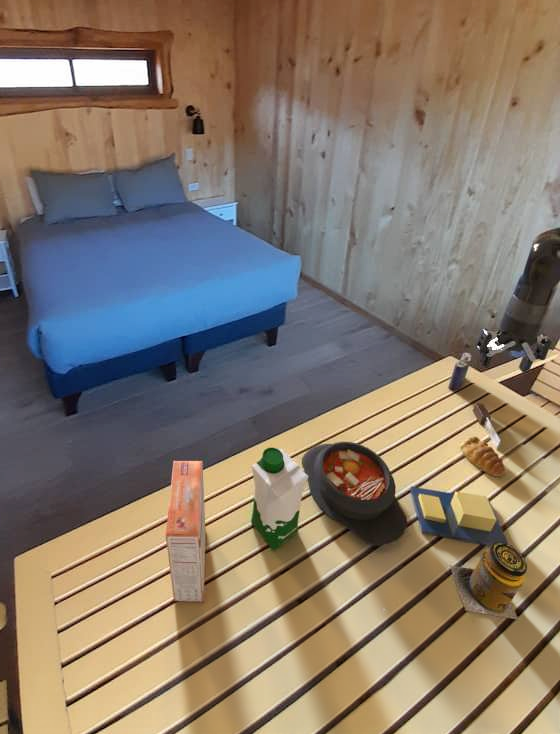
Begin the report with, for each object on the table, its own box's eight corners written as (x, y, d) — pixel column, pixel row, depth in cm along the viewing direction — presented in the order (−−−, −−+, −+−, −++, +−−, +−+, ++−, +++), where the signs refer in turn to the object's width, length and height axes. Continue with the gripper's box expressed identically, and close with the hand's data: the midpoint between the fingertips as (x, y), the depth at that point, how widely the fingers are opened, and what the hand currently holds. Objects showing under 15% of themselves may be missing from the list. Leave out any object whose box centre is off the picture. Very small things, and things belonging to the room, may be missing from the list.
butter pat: (439, 497, 88) (419, 493, 88) (446, 519, 83) (425, 515, 84) (437, 500, 88) (418, 496, 89) (444, 523, 84) (424, 518, 85)
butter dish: (487, 502, 89) (494, 487, 86) (508, 549, 80) (516, 534, 78) (409, 489, 92) (414, 474, 90) (421, 533, 83) (427, 518, 81)
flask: (456, 373, 126) (466, 346, 121) (467, 378, 124) (477, 350, 119) (446, 388, 120) (455, 360, 115) (456, 393, 118) (467, 365, 113)
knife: (472, 410, 112) (475, 402, 111) (480, 411, 112) (483, 403, 110) (492, 449, 101) (496, 440, 100) (501, 450, 100) (505, 441, 99)
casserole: (426, 525, 85) (435, 500, 81) (360, 569, 77) (368, 543, 74) (341, 438, 105) (345, 415, 101) (282, 466, 98) (285, 442, 94)
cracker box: (178, 525, 86) (172, 458, 76) (206, 525, 85) (204, 459, 76) (171, 602, 73) (163, 534, 64) (204, 604, 73) (201, 536, 63)
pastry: (510, 472, 95) (516, 461, 93) (490, 482, 93) (495, 471, 91) (474, 442, 103) (478, 431, 101) (454, 450, 101) (458, 439, 99)
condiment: (517, 619, 70) (543, 582, 64) (465, 611, 71) (485, 573, 66) (497, 573, 76) (518, 536, 71) (449, 566, 78) (466, 529, 72)
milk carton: (274, 499, 90) (281, 437, 81) (304, 533, 83) (315, 469, 74) (244, 521, 86) (247, 458, 77) (273, 559, 79) (280, 495, 70)
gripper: (498, 319, 92) (477, 374, 99) (570, 326, 89) (543, 382, 96) (484, 303, 98) (466, 355, 106) (551, 308, 96) (527, 362, 103)
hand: (503, 368), depth 101 cm, fingers open, 8 cm apart
